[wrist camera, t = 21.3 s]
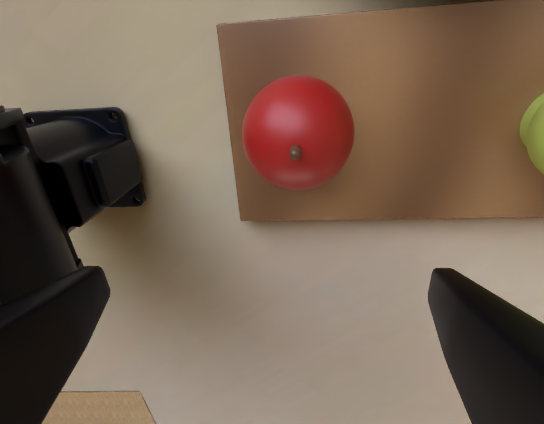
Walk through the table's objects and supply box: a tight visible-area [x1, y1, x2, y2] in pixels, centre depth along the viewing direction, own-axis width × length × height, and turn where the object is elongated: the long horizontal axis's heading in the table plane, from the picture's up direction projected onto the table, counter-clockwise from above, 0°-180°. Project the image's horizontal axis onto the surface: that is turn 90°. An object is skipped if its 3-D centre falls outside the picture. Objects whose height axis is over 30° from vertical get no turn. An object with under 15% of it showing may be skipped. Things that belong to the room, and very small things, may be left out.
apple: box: [242, 75, 354, 190], centre depth 15 cm, size 5×5×6 cm
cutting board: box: [217, 0, 544, 221], centre depth 18 cm, size 22×11×2 cm, turn 94°
